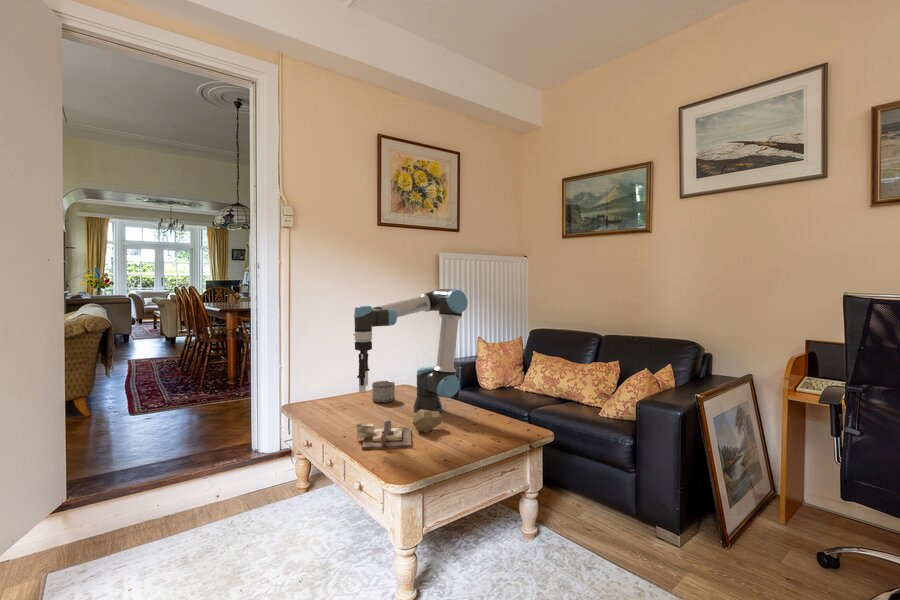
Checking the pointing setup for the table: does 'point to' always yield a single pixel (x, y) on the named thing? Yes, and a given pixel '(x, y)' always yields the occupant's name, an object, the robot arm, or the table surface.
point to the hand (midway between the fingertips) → (363, 389)
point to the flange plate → (377, 432)
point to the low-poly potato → (426, 420)
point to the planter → (383, 391)
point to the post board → (384, 444)
